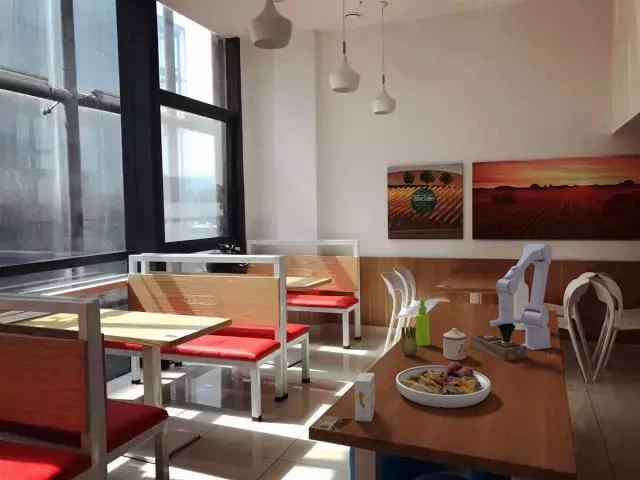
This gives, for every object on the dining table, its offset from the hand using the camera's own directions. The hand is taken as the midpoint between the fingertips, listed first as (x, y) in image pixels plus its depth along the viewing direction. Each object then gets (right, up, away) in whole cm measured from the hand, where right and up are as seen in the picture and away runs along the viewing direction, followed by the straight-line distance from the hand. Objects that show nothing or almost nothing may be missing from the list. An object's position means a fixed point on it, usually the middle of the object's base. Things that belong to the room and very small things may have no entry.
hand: (506, 342), depth 215 cm
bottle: (+22, -2, +45) cm, 50 cm away
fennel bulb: (-38, -6, +4) cm, 39 cm away
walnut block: (-2, -5, +6) cm, 8 cm away
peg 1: (-4, -5, +11) cm, 12 cm away
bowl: (-35, -10, -40) cm, 54 cm away
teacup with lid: (-20, -6, +1) cm, 21 cm away
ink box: (-62, -11, -57) cm, 85 cm away
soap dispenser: (-30, -5, +21) cm, 37 cm away
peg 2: (0, -5, 0) cm, 5 cm away
